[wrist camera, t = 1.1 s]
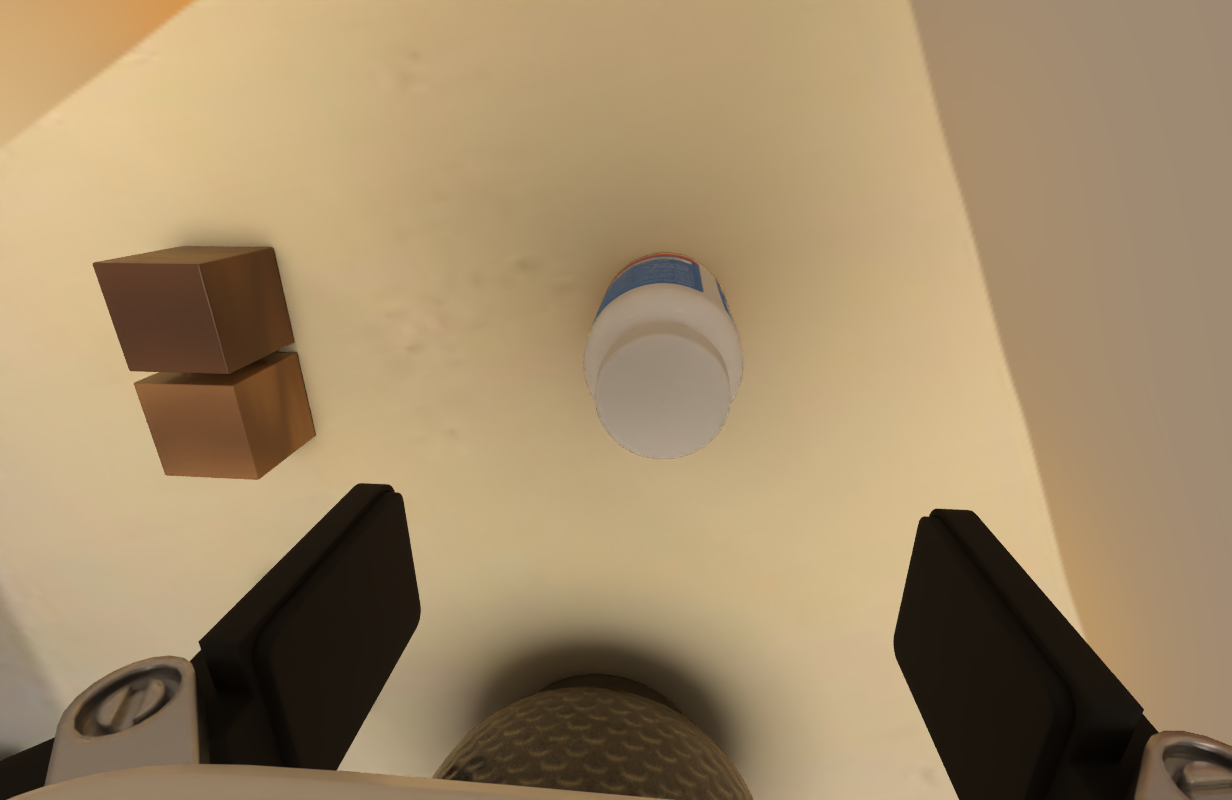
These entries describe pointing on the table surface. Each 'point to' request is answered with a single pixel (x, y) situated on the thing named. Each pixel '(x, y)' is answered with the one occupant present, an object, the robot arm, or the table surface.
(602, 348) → the pill bottle
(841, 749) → the table surface
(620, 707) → the planter
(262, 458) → the block
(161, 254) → the block
